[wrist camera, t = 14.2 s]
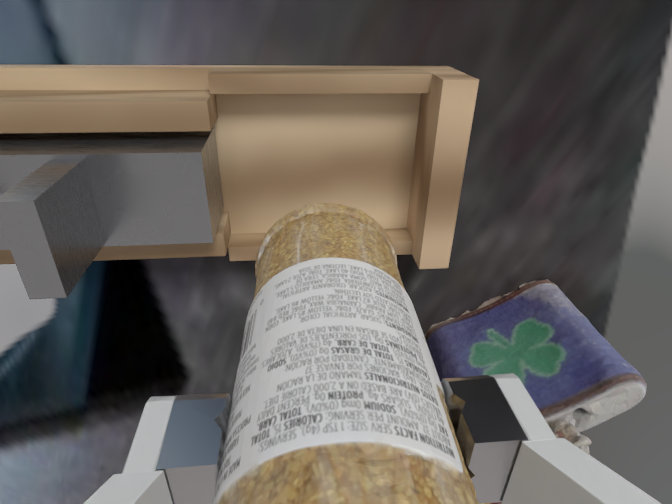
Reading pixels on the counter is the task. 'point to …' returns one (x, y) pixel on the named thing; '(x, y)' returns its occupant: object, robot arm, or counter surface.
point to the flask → (541, 357)
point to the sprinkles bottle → (336, 377)
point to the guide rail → (278, 140)
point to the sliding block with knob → (102, 198)
